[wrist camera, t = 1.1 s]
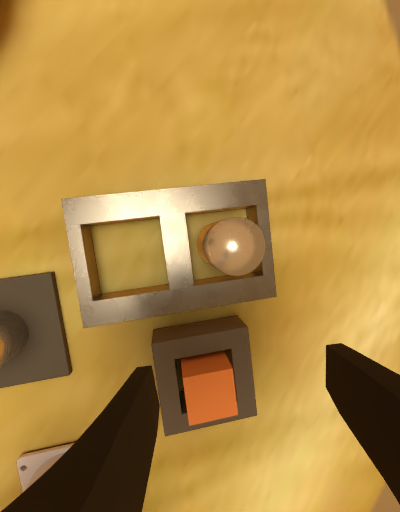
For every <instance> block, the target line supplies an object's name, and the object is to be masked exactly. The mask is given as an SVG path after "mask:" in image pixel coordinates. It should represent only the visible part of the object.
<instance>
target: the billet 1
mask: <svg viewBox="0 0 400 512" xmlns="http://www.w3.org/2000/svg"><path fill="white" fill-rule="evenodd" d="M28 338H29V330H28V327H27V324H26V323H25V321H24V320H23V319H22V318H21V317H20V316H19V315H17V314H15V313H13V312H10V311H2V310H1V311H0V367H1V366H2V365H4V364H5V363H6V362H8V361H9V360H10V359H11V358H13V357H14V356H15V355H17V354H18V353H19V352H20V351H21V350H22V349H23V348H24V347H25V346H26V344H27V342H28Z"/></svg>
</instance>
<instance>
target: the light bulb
mask: <svg viewBox="0 0 400 512" xmlns="http://www.w3.org/2000/svg"><path fill="white" fill-rule="evenodd" d="M197 247H198V251H199V254H200V256H201V257H202V258H203V260H205V261H206V262H207V263H209V264H210V265H212V266H214V267H215V268H217V269H219V270H220V271H222V272H224V273H226V274H229V275H233V276H241V275H245V274H248V273H250V272H251V271H253V270H254V269H255V268H257V266H258V265H259V264H260V263H261V261H262V259H263V257H264V254H265V239H264V235H263V233H262V231H261V230H260V228H259V227H258V226H257V225H256V224H255V223H254V222H252V221H250V220H248V219H246V218H240V217H235V218H230V219H226V220H223V221H220V222H216V223H213V224H210V225H208V226H207V227H205V228H204V229H203V230H202V232H201V233H200V235H199V238H198V242H197Z"/></svg>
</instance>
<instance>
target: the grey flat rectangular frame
mask: <svg viewBox="0 0 400 512" xmlns="http://www.w3.org/2000/svg"><path fill="white" fill-rule="evenodd" d="M61 201H62V207H63V212H64V218H65V224H66V230H67V236H68V241H69V247H70V253H71V259H72V264H73V270H74V276H75V282H76V287H77V293H78V299H79V305H80V311H81V316H82V322H83V328H88V327H95V326H101V325H107V324H113V323H119V322H125V321H131V320H137V319H143V318H149V317H156V316H162V315H168V314H174V313H180V312H186V311H192V310H198V309H204V308H210V307H216V306H223V305H229V304H235V303H241V302H247V301H253V300H259V299H265V298H271V297H277V296H276V285H275V275H274V264H273V254H272V243H271V233H270V222H269V212H268V201H267V190H266V180H265V179H261V180H251V181H241V182H231V183H220V184H210V185H200V186H189V187H179V188H169V189H159V190H148V191H138V192H128V193H118V194H107V195H97V196H87V197H76V198H66V199H61ZM245 208H246V209H247V219H248V220H250V221H252V222H254V223H255V224H256V225H257V226H258V227H259V228H260V230H261V231H262V233H263V235H264V239H265V254H264V257H263V259H262V261H261V263H260V264H259V265H258V266H257V268H255V269H254V270H253V272H250V273H248V274H245V275H241V276H233V275H226V276H220V277H213V278H206V279H199V280H193V274H192V266H191V259H190V251H189V243H188V235H187V227H186V219H185V215H192V214H200V213H209V212H218V211H227V210H236V209H245ZM156 218H160V223H161V230H162V237H163V245H164V252H165V259H166V267H167V274H168V281H169V284H166V285H159V286H152V287H145V288H138V289H132V290H125V291H118V292H111V293H105V294H101V290H100V284H99V277H98V271H97V265H96V259H95V253H94V247H93V241H92V235H91V229H90V226H94V225H103V224H112V223H120V222H129V221H138V220H147V219H156Z"/></svg>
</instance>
